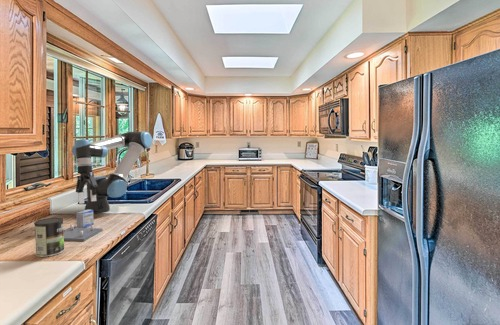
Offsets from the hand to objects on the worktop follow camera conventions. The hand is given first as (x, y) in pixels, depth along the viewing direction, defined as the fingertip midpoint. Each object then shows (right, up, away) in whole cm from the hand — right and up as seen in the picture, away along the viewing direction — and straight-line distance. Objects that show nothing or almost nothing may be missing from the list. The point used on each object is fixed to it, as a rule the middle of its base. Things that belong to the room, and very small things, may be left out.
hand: (87, 202), depth 167 cm
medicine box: (+1, -13, -4) cm, 14 cm away
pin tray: (+5, -14, -19) cm, 24 cm away
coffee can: (+7, -16, -41) cm, 45 cm away
